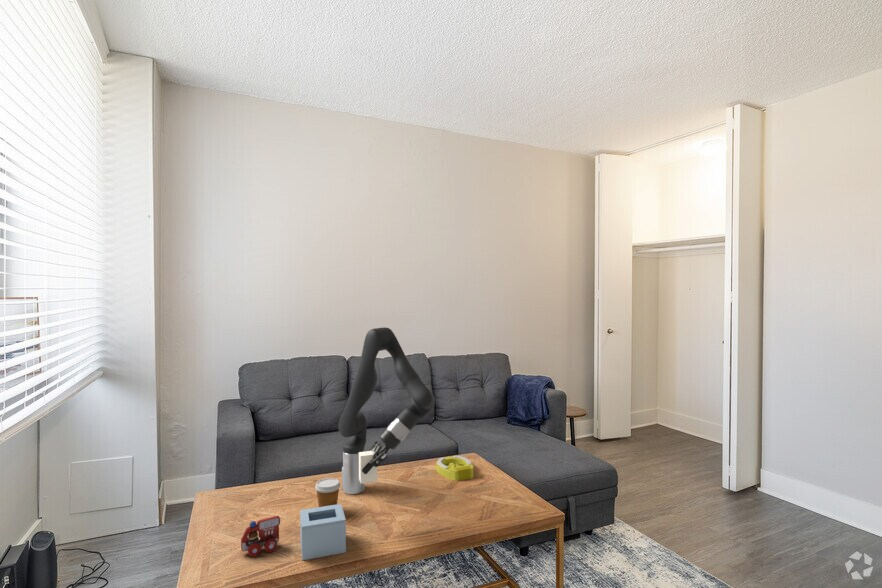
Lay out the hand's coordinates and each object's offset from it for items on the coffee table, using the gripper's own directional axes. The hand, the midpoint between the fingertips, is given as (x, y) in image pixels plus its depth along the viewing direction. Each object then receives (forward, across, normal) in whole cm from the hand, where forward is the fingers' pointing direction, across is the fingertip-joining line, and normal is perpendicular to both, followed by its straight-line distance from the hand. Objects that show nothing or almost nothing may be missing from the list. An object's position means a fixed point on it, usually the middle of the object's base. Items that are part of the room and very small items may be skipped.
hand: (362, 469), depth 172 cm
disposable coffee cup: (+23, -17, +8) cm, 30 cm away
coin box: (+26, +7, +5) cm, 27 cm away
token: (+2, 0, +4) cm, 5 cm away
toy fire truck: (+40, +2, -9) cm, 41 cm away
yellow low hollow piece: (-20, -38, +52) cm, 67 cm away
